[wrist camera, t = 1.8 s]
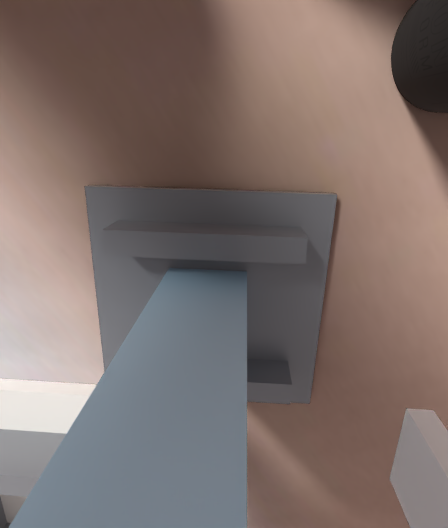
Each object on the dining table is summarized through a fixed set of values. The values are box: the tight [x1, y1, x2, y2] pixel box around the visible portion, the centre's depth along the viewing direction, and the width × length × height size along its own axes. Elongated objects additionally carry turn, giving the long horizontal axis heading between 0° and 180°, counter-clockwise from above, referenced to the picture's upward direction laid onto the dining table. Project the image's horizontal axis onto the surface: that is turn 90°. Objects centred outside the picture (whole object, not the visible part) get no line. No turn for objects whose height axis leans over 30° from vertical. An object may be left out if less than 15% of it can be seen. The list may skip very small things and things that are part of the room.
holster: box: [85, 185, 337, 404], centre depth 18 cm, size 12×12×2 cm
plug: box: [9, 268, 247, 528], centre depth 12 cm, size 4×4×13 cm
